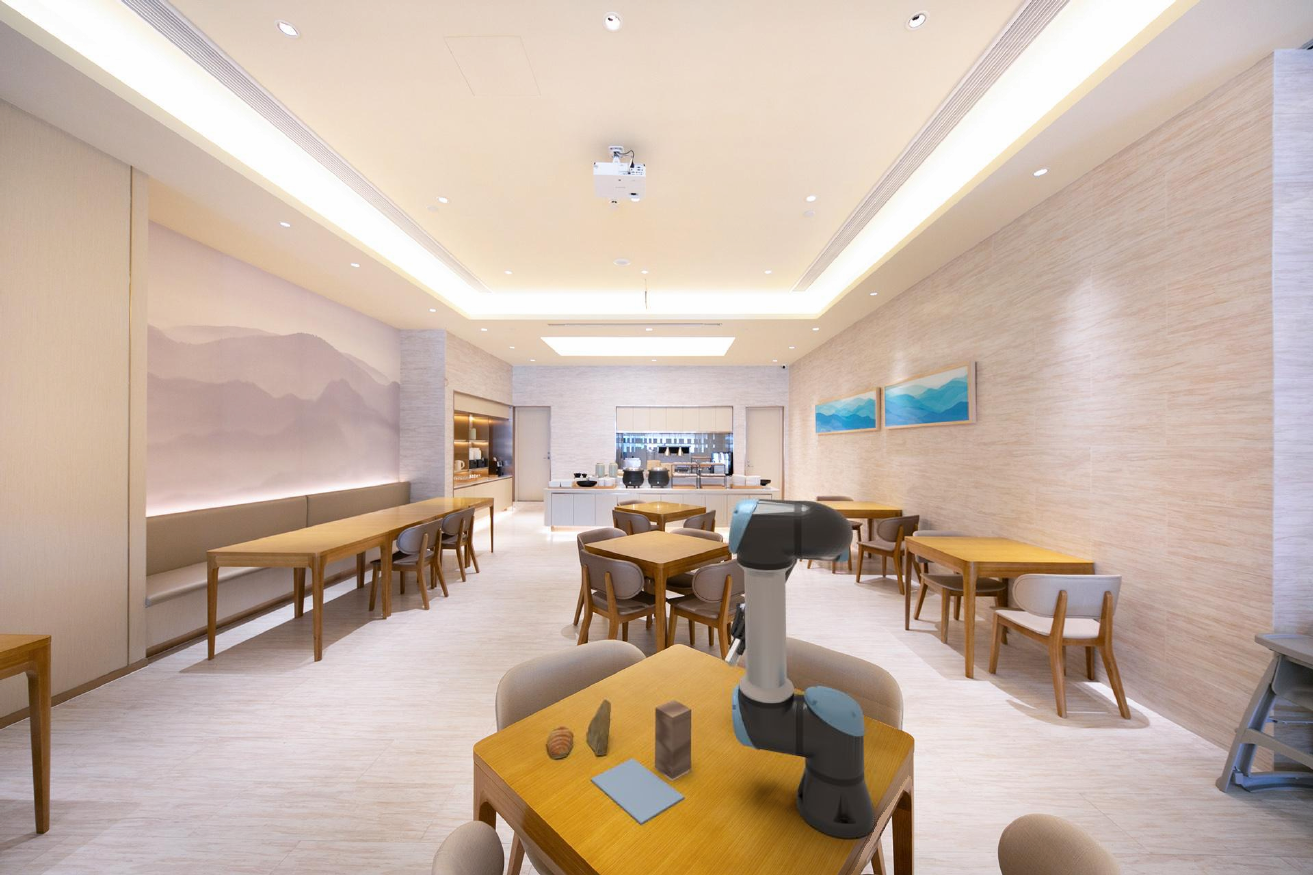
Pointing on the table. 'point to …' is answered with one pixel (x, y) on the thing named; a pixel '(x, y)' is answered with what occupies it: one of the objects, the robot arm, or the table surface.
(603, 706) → the rock
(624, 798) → the mat
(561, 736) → the pastry
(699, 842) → the table surface
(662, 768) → the walnut block
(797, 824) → the table surface
